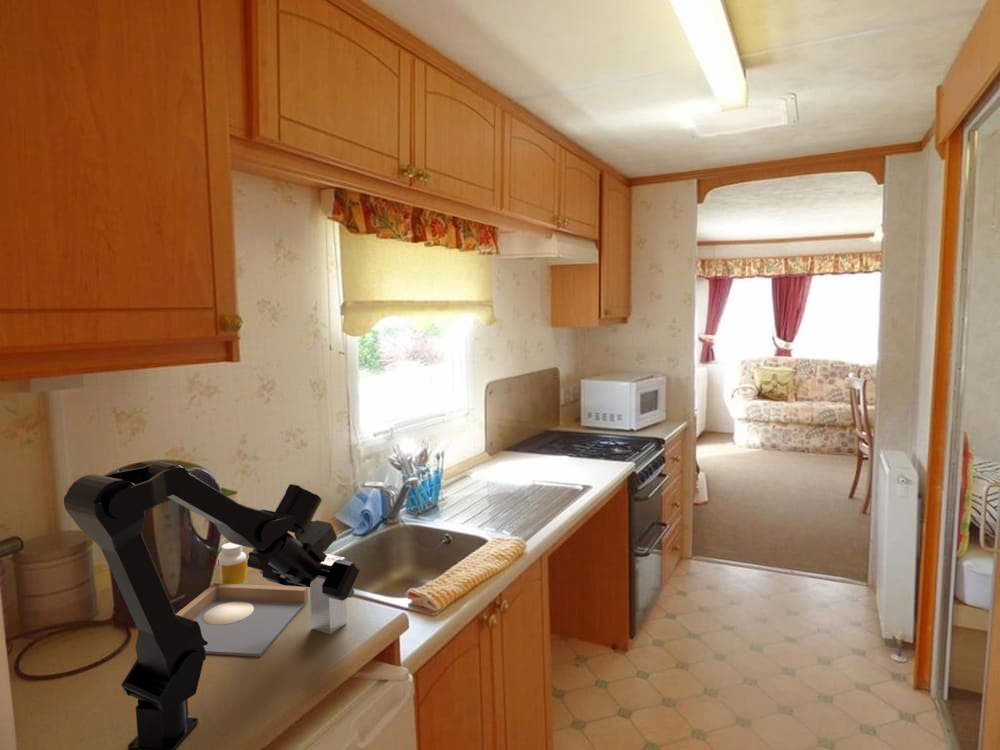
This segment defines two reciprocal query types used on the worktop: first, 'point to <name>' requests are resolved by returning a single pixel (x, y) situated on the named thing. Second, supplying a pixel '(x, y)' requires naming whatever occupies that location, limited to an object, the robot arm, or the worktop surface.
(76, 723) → the worktop surface
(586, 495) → the worktop surface
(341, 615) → the aluminium post
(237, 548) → the supplement bottle
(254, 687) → the worktop surface
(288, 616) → the corner arena
